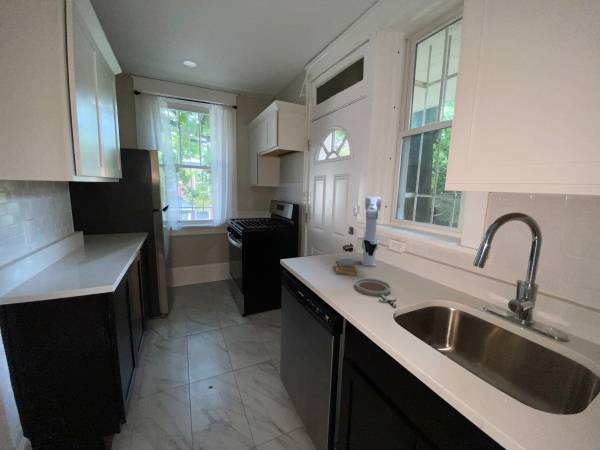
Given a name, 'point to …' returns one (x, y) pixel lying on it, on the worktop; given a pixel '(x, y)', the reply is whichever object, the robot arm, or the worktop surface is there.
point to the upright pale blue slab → (346, 261)
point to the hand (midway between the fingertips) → (369, 253)
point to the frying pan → (375, 288)
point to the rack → (345, 269)
